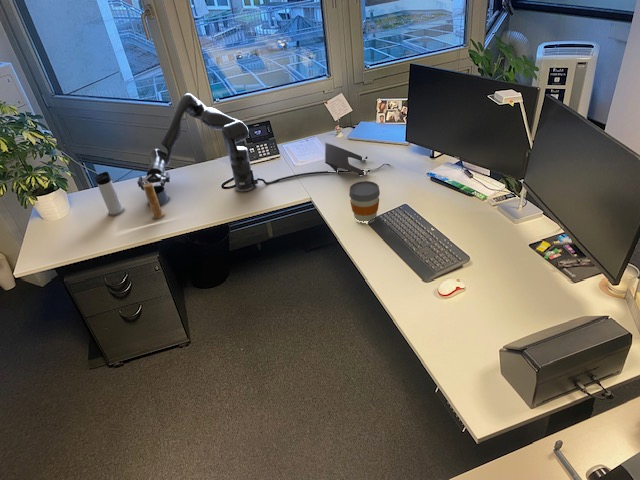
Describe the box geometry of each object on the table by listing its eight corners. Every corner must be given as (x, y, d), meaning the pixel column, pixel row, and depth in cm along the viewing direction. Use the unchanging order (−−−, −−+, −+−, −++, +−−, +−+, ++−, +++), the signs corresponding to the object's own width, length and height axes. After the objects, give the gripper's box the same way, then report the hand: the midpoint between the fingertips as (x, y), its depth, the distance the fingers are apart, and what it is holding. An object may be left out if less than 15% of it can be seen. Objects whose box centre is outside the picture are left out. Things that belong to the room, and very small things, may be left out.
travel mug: (126, 209, 224) (112, 172, 212) (117, 216, 219) (102, 178, 207) (116, 207, 226) (101, 171, 214) (107, 215, 221) (91, 177, 209)
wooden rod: (162, 213, 217) (152, 181, 207) (163, 218, 214) (152, 185, 204) (154, 216, 216) (142, 183, 206) (154, 220, 213) (143, 187, 203)
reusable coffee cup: (360, 230, 191) (359, 199, 182) (345, 216, 200) (343, 186, 192) (386, 220, 195) (385, 189, 186) (369, 207, 205) (368, 177, 196)
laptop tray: (362, 189, 230) (370, 174, 225) (319, 174, 225) (326, 158, 220) (360, 168, 249) (367, 153, 244) (320, 154, 244) (326, 138, 239)
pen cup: (167, 195, 231) (164, 183, 228) (169, 203, 224) (165, 192, 220) (149, 199, 229) (145, 188, 226) (149, 208, 222) (145, 196, 218)
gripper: (173, 175, 228) (170, 191, 215) (143, 180, 227) (139, 196, 214) (168, 162, 224) (165, 177, 210) (138, 166, 222) (133, 182, 209)
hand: (152, 186), depth 212 cm, fingers open, 8 cm apart
